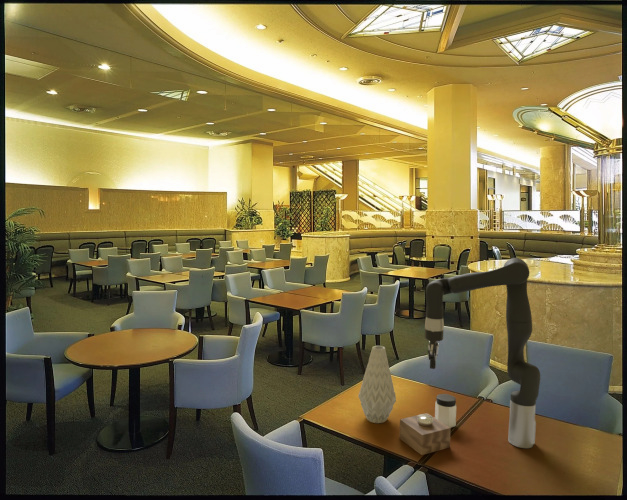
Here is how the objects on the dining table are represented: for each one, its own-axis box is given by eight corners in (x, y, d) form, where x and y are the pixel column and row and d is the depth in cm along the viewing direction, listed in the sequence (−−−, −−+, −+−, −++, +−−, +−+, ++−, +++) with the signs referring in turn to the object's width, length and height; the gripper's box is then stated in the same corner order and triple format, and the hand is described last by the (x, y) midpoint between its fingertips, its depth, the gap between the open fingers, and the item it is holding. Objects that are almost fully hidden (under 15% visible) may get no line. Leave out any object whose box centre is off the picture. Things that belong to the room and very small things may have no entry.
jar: (457, 428, 190) (459, 401, 189) (439, 428, 190) (440, 401, 189) (450, 419, 199) (451, 393, 198) (432, 419, 199) (433, 393, 198)
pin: (425, 435, 182) (426, 413, 181) (435, 442, 177) (436, 419, 176) (413, 438, 179) (414, 415, 179) (423, 445, 174) (424, 422, 173)
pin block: (426, 431, 187) (427, 413, 187) (449, 447, 175) (450, 427, 174) (399, 438, 181) (400, 419, 181) (421, 455, 169) (422, 435, 168)
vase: (378, 431, 186) (381, 355, 183) (350, 417, 199) (352, 346, 196) (403, 420, 197) (405, 348, 194) (375, 407, 210) (377, 339, 207)
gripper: (427, 323, 193) (426, 362, 194) (422, 330, 181) (420, 371, 182) (445, 325, 190) (444, 364, 191) (441, 333, 178) (439, 374, 179)
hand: (432, 368), depth 187 cm, fingers closed
